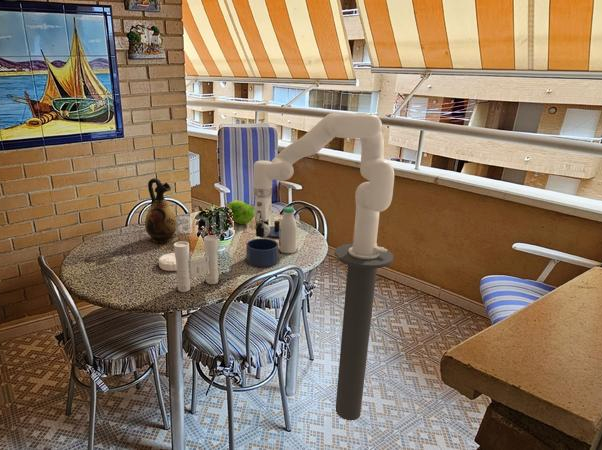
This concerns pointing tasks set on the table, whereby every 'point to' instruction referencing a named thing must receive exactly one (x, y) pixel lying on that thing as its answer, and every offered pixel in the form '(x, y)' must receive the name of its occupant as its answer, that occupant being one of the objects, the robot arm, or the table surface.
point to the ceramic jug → (160, 214)
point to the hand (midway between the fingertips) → (262, 233)
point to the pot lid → (275, 229)
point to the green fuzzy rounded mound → (241, 212)
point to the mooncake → (168, 262)
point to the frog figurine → (265, 230)
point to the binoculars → (196, 263)
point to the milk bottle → (288, 231)
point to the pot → (262, 252)
